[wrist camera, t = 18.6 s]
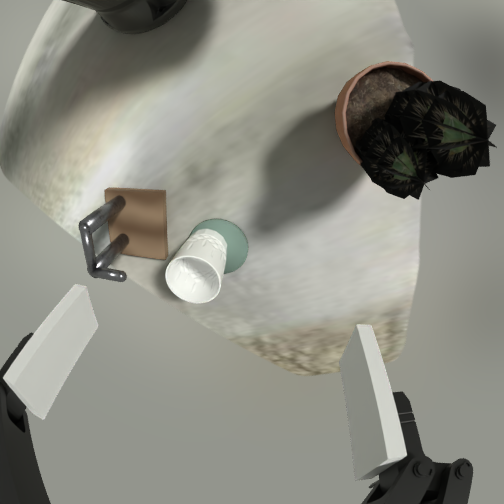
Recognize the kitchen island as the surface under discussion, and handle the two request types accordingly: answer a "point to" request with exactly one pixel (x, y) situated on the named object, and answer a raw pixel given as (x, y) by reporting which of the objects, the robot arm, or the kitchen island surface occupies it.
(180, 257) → the white cup
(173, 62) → the kitchen island surface
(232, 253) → the end coaster
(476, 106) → the potted plant
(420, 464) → the robot arm
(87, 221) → the bent wire
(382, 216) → the kitchen island surface
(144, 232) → the brown wooden board
